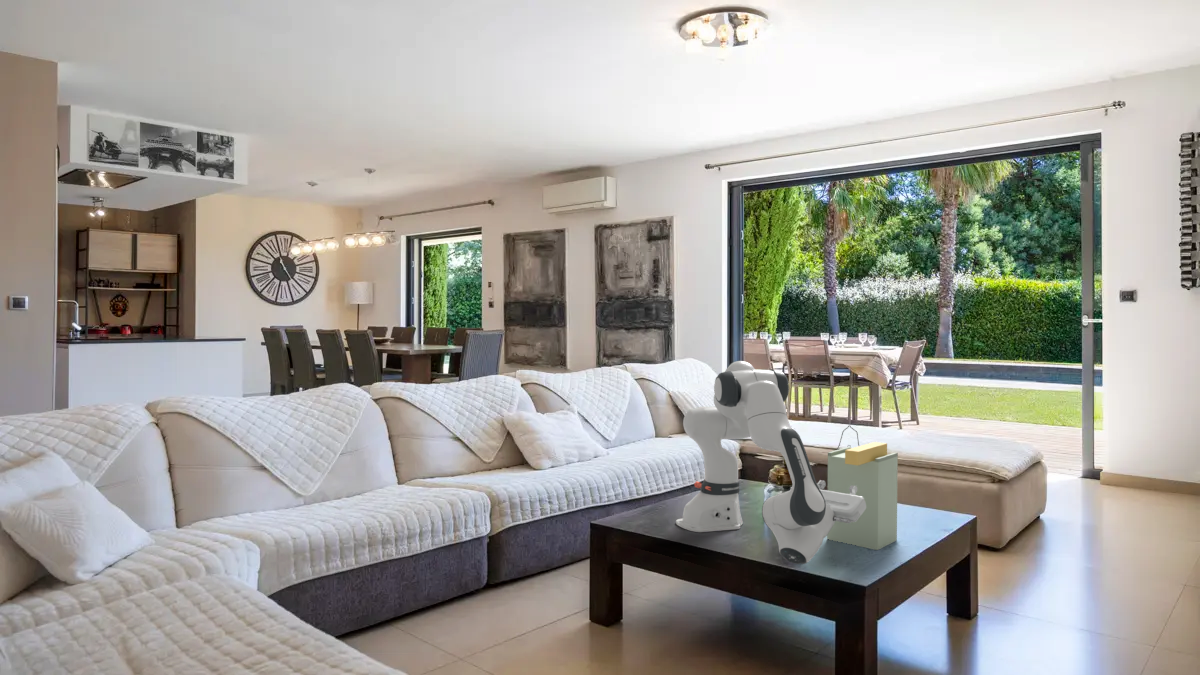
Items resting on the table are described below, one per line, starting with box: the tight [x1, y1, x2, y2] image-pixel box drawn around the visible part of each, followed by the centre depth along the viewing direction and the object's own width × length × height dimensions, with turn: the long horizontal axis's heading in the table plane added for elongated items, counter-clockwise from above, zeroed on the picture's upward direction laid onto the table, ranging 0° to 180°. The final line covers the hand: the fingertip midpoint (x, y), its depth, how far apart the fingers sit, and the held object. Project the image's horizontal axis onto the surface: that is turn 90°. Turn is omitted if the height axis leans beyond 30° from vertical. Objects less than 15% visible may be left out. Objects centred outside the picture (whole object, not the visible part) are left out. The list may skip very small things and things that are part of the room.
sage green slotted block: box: [826, 446, 899, 551], centre depth 239 cm, size 14×16×27 cm
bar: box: [845, 441, 888, 465], centre depth 232 cm, size 20×4×4 cm, turn 137°
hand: (838, 484), depth 219 cm, fingers open, 8 cm apart
